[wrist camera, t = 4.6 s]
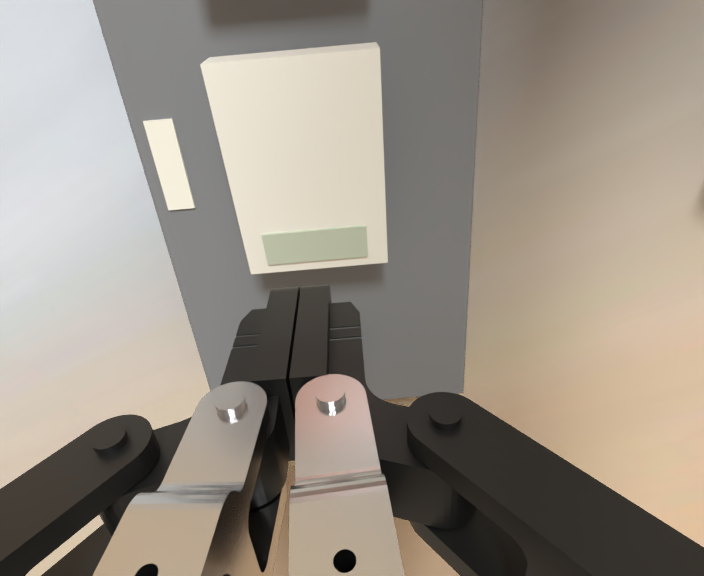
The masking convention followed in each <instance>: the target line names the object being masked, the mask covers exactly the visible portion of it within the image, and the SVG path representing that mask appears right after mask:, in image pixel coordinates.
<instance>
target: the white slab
mask: <svg viewBox="0 0 704 576" xmlns="http://www.w3.org/2000/svg"><path fill="white" fill-rule="evenodd" d="M200 66H201V70H202V74H203V78H204V82H205V87H206V91H207V95H208V99H209V103H210V107H211V111H212V115H213V120H214V124H215V128H216V132H217V136H218V140H219V144H220V148H221V153H222V157H223V161H224V165H225V169H226V173H227V177H228V181H229V186H230V190H231V194H232V198H233V202H234V206H235V210H236V214H237V219H238V223H239V227H240V231H241V235H242V239H243V243H244V248H245V252H246V256H247V260H248V264H249V268H250V272H251V274H262V273H273V272H285V271H296V270H308V269H320V268H331V267H343V266H355V265H366V264H378V263H388V253H387V226H386V199H385V172H384V145H383V118H382V91H381V64H380V47H379V46H378V44H377V42H371V43H360V44H349V45H338V46H328V47H317V48H306V49H295V50H284V51H273V52H262V53H251V54H240V55H229V56H218V57H209V58H208V59H206V60H205V61H204V62H203V63H201V64H200Z"/></svg>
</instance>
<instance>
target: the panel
mask: <svg viewBox="0 0 704 576" xmlns="http://www.w3.org/2000/svg"><path fill="white" fill-rule="evenodd" d="M93 3H94V6H95V10H96V13H97V16H98V19H99V23H100V26H101V29H102V33H103V36H104V39H105V43H106V46H107V49H108V53H109V56H110V59H111V63H112V66H113V69H114V72H115V76H116V79H117V82H118V86H119V89H120V92H121V96H122V99H123V102H124V106H125V109H126V112H127V116H128V119H129V122H130V126H131V129H132V132H133V135H134V139H135V142H136V145H137V149H138V152H139V155H140V159H141V162H142V165H143V169H144V172H145V175H146V179H147V182H148V185H149V188H150V192H151V195H152V198H153V202H154V205H155V208H156V212H157V215H158V218H159V222H160V225H161V228H162V232H163V235H164V238H165V242H166V245H167V248H168V251H169V255H170V258H171V261H172V265H173V268H174V271H175V275H176V278H177V281H178V285H179V288H180V291H181V295H182V298H183V301H184V304H185V308H186V311H187V314H188V318H189V321H190V324H191V328H192V331H193V334H194V338H195V341H196V344H197V348H198V351H199V354H200V357H201V361H202V364H203V367H204V371H205V374H206V377H207V381H208V384H209V387H210V391H212V390H213V389H215V388H217V387H219V386H220V384H221V381H222V378H223V375H224V372H225V368H226V365H227V362H228V359H229V356H230V353H231V349H233V343H234V340H235V338H236V334H237V330H238V327H239V324H240V321H241V320H242V319H243V318H244V317H245V316H246V315H247V314H248V313H249V312H250V311H251V310H253V309H265V308H266V307H267V303H268V299H269V294H270V291H271V289H278V288H291V287H300V289H301V287H302V286H315V285H327V284H329V285H330V291H331V300H332V303H340V302H351V303H352V304H353V305H354V306H355V307H356V309H357V310H358V311H359V312H360V322H361V335H362V347H363V359H364V372H365V381H366V384H367V387H368V388H369V390H370V391H371V392H372V393H373V394H374V395H375V396H377V397H378V398H379V399H381V400H385V399H397V398H409V397H421V396H424V395H426V394H429V393H434V392H450V393H455V394H458V393H463V387H464V367H465V347H466V327H467V307H468V288H469V268H470V248H471V228H472V208H473V188H474V168H475V148H476V128H477V108H478V88H479V68H480V49H481V29H482V9H483V0H93ZM371 42H377V44H378V46H379V47H380V64H381V91H382V118H383V145H384V172H385V199H386V226H387V253H388V263H378V264H366V265H355V266H343V267H331V268H320V269H308V270H296V271H285V272H273V273H262V274H251V272H250V268H249V264H248V260H247V256H246V252H245V248H244V243H243V239H242V235H241V231H240V227H239V223H238V219H237V214H236V210H235V206H234V202H233V198H232V194H231V190H230V186H229V181H228V177H227V173H226V169H225V165H224V161H223V157H222V153H221V148H220V144H219V140H218V136H217V132H216V128H215V124H214V120H213V115H212V111H211V107H210V103H209V99H208V95H207V91H206V87H205V82H204V78H203V74H202V70H201V66H200V64H201V63H203V62H204V61H205V60H206V59H208V58H209V57H218V56H229V55H240V54H251V53H262V52H273V51H284V50H295V49H306V48H317V47H328V46H338V45H349V44H360V43H371Z"/></svg>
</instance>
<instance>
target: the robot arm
mask: <svg viewBox="0 0 704 576" xmlns="http://www.w3.org/2000/svg"><path fill="white" fill-rule="evenodd" d="M291 460H295V486H291V489H290V500H289V571H288V576H405V574H404V569H403V564H402V559H401V554H400V549H399V544H398V538H397V533H396V528H395V523H394V518H393V517H397V518H401V519H405V520H409V521H410V523H411V525H412V527H413V529H414V530H415V532H416V533H417V534H418V535H419V536H420V537H421V538H422V539H423V540H424V541H425V542H426V543H427V544H428V545H429V546H430V547H431V548H432V549H433V550H434V551H435V552H437V553H438V554H439V555H440V556H441V557H442V558H443V559H444V560H445V561H446V562H447V563H448V564H449V565H450V566H451V567H452V568H453V569H454V570H455V571H456V572H457V573H458V574H459V575H460V576H704V547H702V546H700V545H699V544H697V543H696V542H694V541H693V540H691V539H689V538H688V537H686V536H685V535H683V534H681V533H680V532H678V531H677V530H675V529H674V528H672V527H670V526H669V525H667V524H666V523H664V522H662V521H661V520H659V519H658V518H656V517H655V516H653V515H651V514H650V513H648V512H647V511H645V510H643V509H642V508H640V507H639V506H637V505H636V504H634V503H632V502H631V501H629V500H628V499H626V498H624V497H623V496H621V495H620V494H618V493H617V492H615V491H613V490H612V489H610V488H609V487H607V486H606V485H604V484H602V483H601V482H599V481H598V480H596V479H594V478H593V477H591V476H590V475H588V474H587V473H585V472H583V471H582V470H580V469H579V468H577V467H575V466H574V465H572V464H571V463H569V462H568V461H566V460H564V459H563V458H561V457H560V456H558V455H556V454H555V453H553V452H552V451H550V450H549V449H547V448H545V447H544V446H542V445H541V444H539V443H537V442H536V441H534V440H533V439H531V438H530V437H528V436H526V435H525V434H523V433H522V432H520V431H518V430H517V429H515V428H514V427H512V426H511V425H509V424H507V423H506V422H504V421H503V420H501V419H499V418H498V417H496V416H495V415H493V414H492V413H490V412H488V411H487V410H485V409H484V408H482V407H480V406H479V405H477V404H476V403H474V402H473V401H471V400H469V399H468V398H466V397H464V396H461V395H459V394H455V393H450V392H434V393H429V394H426V395H424V396H421V397H420V398H418V399H416V400H415V401H414V402H413V403H412V404H411V406H410V407H406V406H400V405H395V404H391V403H388V402H385V401H383V400H381V399H379V398H378V397H377V396H375V395H374V394H373V393H372V392H371V391H370V390H369V388H368V387H367V384H366V381H365V372H364V359H363V347H362V335H361V322H360V312H359V311H358V310H357V309H356V307H355V306H354V305H353V304H352V303H351V302H340V303H332V300H331V291H330V285H329V284H327V285H315V286H302V287H301V289H300V287H291V288H278V289H271V291H270V294H269V299H268V303H267V307H266V308H265V309H253V310H251V311H250V312H249V313H248V314H247V315H246V316H245V317H244V318H243V319H242V320H241V321H240V324H239V327H238V330H237V334H236V338H235V340H234V343H233V349H231V353H230V356H229V359H228V362H227V365H226V368H225V372H224V375H223V378H222V381H221V384H220V386H219V387H217V388H215V389H213V390H212V391H210V392H209V393H207V394H206V395H205V396H204V397H203V398H202V399H201V401H200V402H199V403H198V405H197V407H196V409H195V411H194V414H193V416H192V417H190V418H188V419H186V420H183V421H181V422H178V423H174V424H171V425H168V426H165V427H162V428H159V429H156V430H153V429H152V427H151V425H150V423H149V421H147V420H146V419H145V418H143V417H141V416H138V415H122V416H117V417H113V418H110V419H108V420H105V421H103V422H101V423H99V424H97V425H96V426H94V427H92V428H91V429H89V430H88V431H86V432H85V433H83V434H82V435H81V436H79V437H78V438H76V439H75V440H73V441H72V442H70V443H69V444H67V445H66V446H64V447H63V448H61V449H60V450H58V451H57V452H55V453H54V454H52V455H51V456H49V457H48V458H46V459H45V460H43V461H42V462H40V463H39V464H37V465H36V466H34V467H33V468H31V469H30V470H28V471H27V472H25V473H24V474H22V475H21V476H19V477H18V478H16V479H15V480H13V481H12V482H10V483H9V484H7V485H6V486H4V487H3V488H1V489H0V576H25V575H26V574H27V573H28V572H29V571H30V570H31V569H32V568H33V567H34V566H36V565H37V564H38V563H39V562H41V561H42V560H43V559H44V558H45V557H47V556H48V555H49V554H50V553H52V552H53V551H54V550H55V549H57V548H58V547H59V546H60V545H62V544H63V543H64V542H65V541H67V540H68V539H69V538H70V537H71V536H73V535H74V534H75V533H76V532H78V531H79V530H80V529H81V528H83V527H84V526H85V525H86V524H88V523H89V522H90V521H91V520H92V519H94V518H95V517H96V516H97V515H100V517H101V519H102V520H103V522H104V524H103V525H102V526H100V527H99V528H98V529H97V530H96V531H94V532H93V533H92V534H91V535H90V536H88V537H87V538H86V539H85V540H83V541H82V542H81V543H80V544H79V545H77V546H76V547H75V548H74V549H73V550H71V551H70V552H69V553H68V554H67V555H65V556H64V557H63V558H62V559H61V560H59V561H58V562H57V563H56V564H55V565H53V566H52V567H51V568H50V569H48V570H47V571H46V572H45V573H44V574H42V575H41V576H272V575H273V569H274V564H275V558H276V553H277V548H278V542H279V537H280V531H281V526H282V521H283V515H284V510H285V504H286V499H287V484H286V478H287V469H288V461H291Z"/></svg>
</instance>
